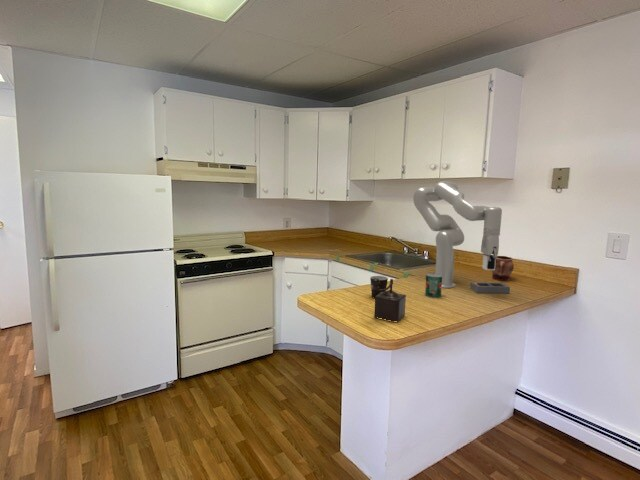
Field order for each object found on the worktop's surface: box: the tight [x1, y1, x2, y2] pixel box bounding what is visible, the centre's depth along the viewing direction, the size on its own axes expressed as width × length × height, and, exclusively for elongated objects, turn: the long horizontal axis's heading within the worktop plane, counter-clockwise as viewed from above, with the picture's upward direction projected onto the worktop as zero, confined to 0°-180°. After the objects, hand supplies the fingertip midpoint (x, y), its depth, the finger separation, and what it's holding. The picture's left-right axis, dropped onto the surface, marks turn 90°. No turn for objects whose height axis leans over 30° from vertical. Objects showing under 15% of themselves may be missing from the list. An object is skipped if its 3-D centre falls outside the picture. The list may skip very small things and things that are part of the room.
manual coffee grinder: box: [370, 278, 407, 322], centre depth 150 cm, size 16×11×18 cm
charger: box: [481, 255, 496, 271], centre depth 182 cm, size 4×4×7 cm
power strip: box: [469, 281, 511, 295], centre depth 198 cm, size 17×16×4 cm
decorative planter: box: [491, 255, 514, 281], centre depth 219 cm, size 20×12×14 cm, turn 155°
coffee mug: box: [369, 275, 389, 299], centre depth 181 cm, size 12×9×10 cm
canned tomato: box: [424, 272, 442, 299], centre depth 184 cm, size 8×8×11 cm
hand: (488, 267), depth 182 cm, fingers closed on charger, 4 cm apart
